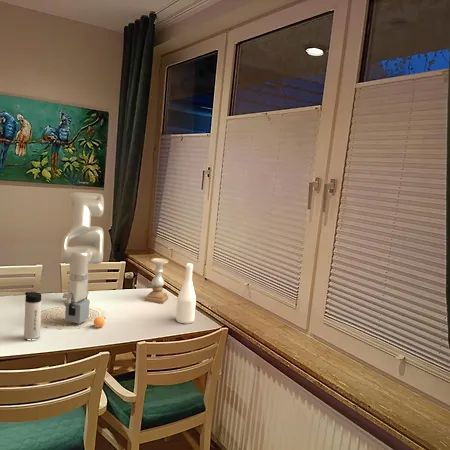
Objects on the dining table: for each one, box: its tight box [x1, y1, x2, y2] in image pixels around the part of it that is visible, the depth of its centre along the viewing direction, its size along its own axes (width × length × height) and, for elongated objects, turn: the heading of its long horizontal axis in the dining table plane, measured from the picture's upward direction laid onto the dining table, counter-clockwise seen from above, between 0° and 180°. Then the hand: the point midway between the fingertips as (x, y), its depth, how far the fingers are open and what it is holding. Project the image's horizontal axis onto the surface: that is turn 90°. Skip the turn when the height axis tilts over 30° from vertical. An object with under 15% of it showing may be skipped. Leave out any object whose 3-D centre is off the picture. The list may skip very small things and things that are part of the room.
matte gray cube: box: [64, 300, 90, 324], centre depth 206 cm, size 8×8×9 cm
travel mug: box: [23, 291, 42, 340], centre depth 184 cm, size 6×7×20 cm
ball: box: [93, 316, 106, 328], centre depth 204 cm, size 5×5×5 cm
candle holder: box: [144, 257, 169, 305], centre depth 251 cm, size 11×11×24 cm
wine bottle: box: [175, 262, 197, 325], centre depth 221 cm, size 10×10×30 cm
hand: (76, 312), depth 206 cm, fingers closed on matte gray cube, 7 cm apart
